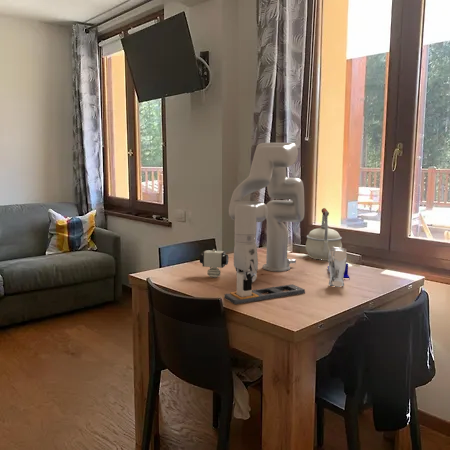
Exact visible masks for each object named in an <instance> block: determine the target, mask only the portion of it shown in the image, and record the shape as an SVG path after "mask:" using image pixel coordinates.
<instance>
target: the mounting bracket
mask: <svg viewBox="0 0 450 450" xmlns="http://www.w3.org/2000/svg"><path fill="white" fill-rule="evenodd" d="M327 268H328V269H327V271H329V265H327ZM328 273H330V271H329V272H328ZM343 278H349V279H350V275H349V264H348V263H346V267H345V272H344V277H343Z"/></svg>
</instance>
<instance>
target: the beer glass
mask: <svg viewBox="0 0 450 450" xmlns="http://www.w3.org/2000/svg"><path fill="white" fill-rule="evenodd" d="M347 255H348V254H347V248H344V247H342V248H338V247H334V248H330V250H329V260H328V266H329V271H330V274H329V282H328V286H329V285H330V286H329V287H331V286H335V287H340V286H344V287H345V283H344V281H345V280H343V277H344V272H345V267H346V264H347ZM335 287H334V288H335Z"/></svg>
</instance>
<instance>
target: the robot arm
mask: <svg viewBox="0 0 450 450" xmlns="http://www.w3.org/2000/svg"><path fill="white" fill-rule="evenodd" d="M298 156H299V151H298V146H297V144H296V143H294V142H261V143H259V144H257V145H256V148H255V151H254V154H253V158H252V163H251V166H250V171H249V175H248V177H246V178H245V179H244V180H242V181H241V182H240V183H239V184H238V185H237V186H236V187H235V188H234V189H233V192H232V194H231V198H230V201H229V204H228V216H229V217H230V219H231V220H233V221H234V248H233V266H234V269H235V271H236V276H237V273H238V272H244V277H245V280H243V290H244V291H248V290H253V283H252V279H253V276H254V275H255V274H256V275H257V273H256V272H257V271H258V269H259V268H258V267H259V262H258V260H259V259H258V258H259V257H258V248H257V242H256V241H257V223H262V222H263V221H265V220H266V260H265V262H266V263H265V264H263V265H262V269H263V270H265V271H268V272H269V271H270V272H287V271H290V270H291V266H290V264H296V262H297V260H296V258H292V259H291V258H288V247H289V246H288V245H289V244H288V240H289V239H288V237H289V232H288V228H287V226H286V224H285V222H286V223H300V222H302V221H304V219H305V210H306V209H305V208H306V207H305V188H304V186H305V185H304V182H303V180H302V179H300V178H299V177H288V176H287V171H286V169H287V168H289V167H290V166H292V165H294V163H296V162H297V159H298ZM266 187H267V194H268V196H269V198H272V200H270V201H268V202H267V203H264V202H262V201H254V200H253V201H252V200H244V198H245V197H246V196H248V195H250V194H252V193H255V192H257V191H260V190H262V189H264V188H266ZM273 199H274V200H273ZM248 269H250V270H249V271H248ZM249 272H250V273H249ZM247 273H249V274H248V275H247Z"/></svg>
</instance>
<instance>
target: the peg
mask: <svg viewBox="0 0 450 450" xmlns="http://www.w3.org/2000/svg"><path fill="white" fill-rule="evenodd" d="M236 273H237V272H236ZM248 274H249V273H247V275H248ZM243 280H245V277H244V272H238V273H237V275H236V292H237V293H236V294H237V295H239V296H241V297H247V296H252V290H253V289H252V290H248V291H244V290H243Z"/></svg>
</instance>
